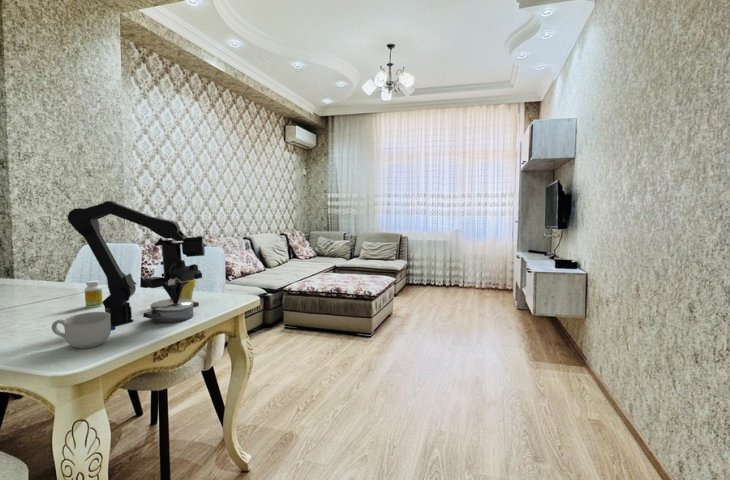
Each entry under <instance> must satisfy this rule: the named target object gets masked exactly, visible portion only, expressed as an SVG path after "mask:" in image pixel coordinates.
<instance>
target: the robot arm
mask: <svg viewBox="0 0 730 480" xmlns="http://www.w3.org/2000/svg"><path fill="white" fill-rule="evenodd" d="M109 215H111V216H115V217H117V218H120V219H123V220H125V221H128V222H131V223H134V224H136V225H140V226H142V227H144V228H147V229H149V231H152V232H153V233H155V234H157V235H158V236H159V238H158V240H157V241H156V242H155V243H154V246H155V247H157V246H161V255H162V261H160V265H162V268H163V273H161V276H152V277H151V276H150V277H146V278H145V277H144V278H143V281H142V282H141V283H142V287H143V288H148V289H149V288H150V289H156V288H161V287H162V288H163V289H164V291H165V292H166V293H167V294H168V296H169V299H172V301H173V303H174V304H176V303H178V301H179V297H180V294H181V291H182V288H183V287H184V286H185V284H187V283H188V282H186V280H193V278H194V279H195V280H198V279H203V273H202V271H201V270H200V269H199V265H198V264H197V263H194V264H193V263H192V264H190V265H186V262H185V259H182V254H183V255H185V256H186V257H187V258H191V257H193V258H194V257H204V256H205V253H206V252H205V251H206V249H205V244H204V239H203V237H204V236H203V235H201V236H200V235H198V236H192V237H191V236H189V237H188V236H186V235H185V233H184V232H183V231H182V230H181V227H180V225H179V223H178V222H177V221H174V220H171V219H165V218H161V217H160V218H159V217H155V216H152V215H149V214H146V213H143V212H141V211H139V210H135V209H133V208H130V207H127V206H125V205H123V204H121V203H118V202H116V201H113V200H106V201H104V202H102V203H99V204H95V205H92V206H89V207H82V208H81V207H77V208H73V209H71V211H69V212H68V215H67V221H68V223H69V224H70V225H71V226H72V228H73V229H74V230H75V231H76V232H77V233H78V234H79V235H80V236H82V237H83V238H84V240H85V241H86V243H87V245H88V247H89V248H90V251H91V252H92V254H93V256H94V257H95V259H96V261H97V262H98V264H99V266H100V268H101V270H102V272H103V273H104V275H105V277H106V282H107V289H108V291H109V295H108V296H107V297H106V298H105V299H104V300H103V305H102V306H104V312H107V313H109V314H110V315H111V317H110V321H111V327H117V326H120V325H125V324H128V323H133V322H134V319H132V318H133V317H132V306H130V302H129V301H130V298H131V297H132V296H134V295H135V292H136V285H137V282H136V281H135V280H134V279H133V276H132V274H131V273H128V274H125V273H124V272H123V271H122V270H121V269H120V268H121V267H120V266H119V264H118V262H117V260H116V259H115V257H114V255H113V253H112V251H111V249H110V248H109V245H107V244H108V243H107V242H106V240H105V239H104V237H103V235H102V234H101V229H100V223H99V219H102V218H104V217H106V216H109ZM163 238H164V239H163ZM174 241H175V242H174Z"/></svg>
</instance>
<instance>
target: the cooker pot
mask: <svg viewBox="0 0 730 480" xmlns="http://www.w3.org/2000/svg"><path fill="white" fill-rule="evenodd" d="M193 304H194V305H193V306H192V307H190V308H187V309H183V310H178V311H170V312H157V311H152V310H151V309H150V310H149V311H146V312H145V311H144V312H143V313H142V314H143V318H146V319H151V320H150V321H151V322H152V323H154V324H158V325H159V324H161V325H162V324H163V325H164V324H165V325H166V324H176V323H177V324H178V323H181V322H185V321H188V320H190V319H192V318H194V308H197V307H200V303H199V302H198V301H194V300H193Z"/></svg>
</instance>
